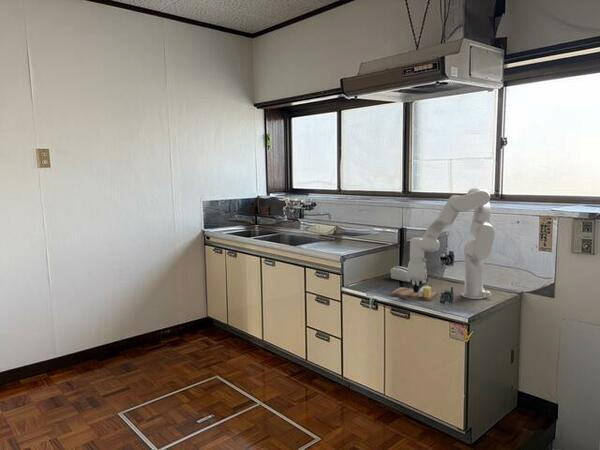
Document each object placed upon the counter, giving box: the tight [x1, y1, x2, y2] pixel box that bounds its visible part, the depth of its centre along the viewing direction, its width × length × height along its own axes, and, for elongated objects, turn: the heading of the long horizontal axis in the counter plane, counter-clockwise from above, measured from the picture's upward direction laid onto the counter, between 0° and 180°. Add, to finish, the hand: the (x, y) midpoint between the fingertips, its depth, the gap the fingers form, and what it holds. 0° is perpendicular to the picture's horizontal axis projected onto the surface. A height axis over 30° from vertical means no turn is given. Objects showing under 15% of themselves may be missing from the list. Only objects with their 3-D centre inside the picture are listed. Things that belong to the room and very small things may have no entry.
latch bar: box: [418, 284, 430, 297], centre depth 257 cm, size 14×3×3 cm, turn 150°
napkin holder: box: [389, 266, 411, 283], centre depth 294 cm, size 17×5×10 cm, turn 40°
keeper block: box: [423, 285, 432, 298], centre depth 253 cm, size 3×4×5 cm
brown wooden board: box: [390, 286, 440, 302], centre depth 261 cm, size 23×14×2 cm, turn 55°
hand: (416, 291), depth 255 cm, fingers closed
